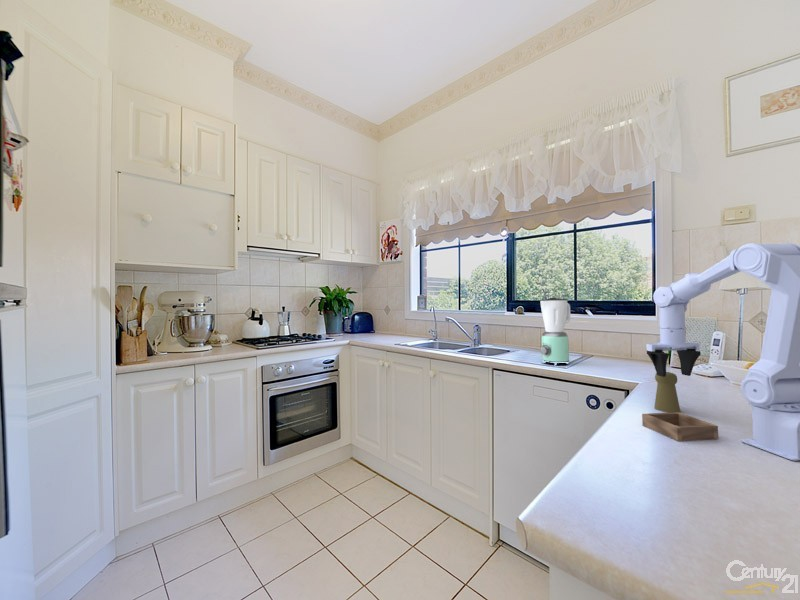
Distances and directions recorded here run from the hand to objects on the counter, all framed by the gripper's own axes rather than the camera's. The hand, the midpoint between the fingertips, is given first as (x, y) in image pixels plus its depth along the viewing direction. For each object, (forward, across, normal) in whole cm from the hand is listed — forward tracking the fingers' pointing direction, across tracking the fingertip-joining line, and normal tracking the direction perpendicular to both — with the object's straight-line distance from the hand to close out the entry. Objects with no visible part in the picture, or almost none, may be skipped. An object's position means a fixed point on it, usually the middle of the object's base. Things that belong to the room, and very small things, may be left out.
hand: (673, 375), depth 95 cm
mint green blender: (+11, -9, -80) cm, 81 cm away
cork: (+11, 0, -3) cm, 11 cm away
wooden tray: (+10, +12, +13) cm, 21 cm away
